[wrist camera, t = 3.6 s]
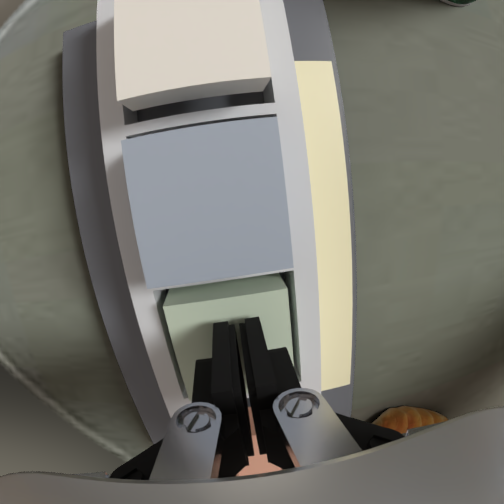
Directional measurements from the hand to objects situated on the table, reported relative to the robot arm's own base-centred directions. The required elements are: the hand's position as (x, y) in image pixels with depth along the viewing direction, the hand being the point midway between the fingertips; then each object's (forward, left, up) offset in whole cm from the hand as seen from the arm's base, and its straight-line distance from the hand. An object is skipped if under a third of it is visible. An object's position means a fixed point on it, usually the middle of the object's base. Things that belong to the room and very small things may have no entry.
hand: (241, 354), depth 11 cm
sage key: (0, 0, -2) cm, 2 cm away
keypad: (0, -3, -5) cm, 5 cm away
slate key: (0, -6, -1) cm, 6 cm away
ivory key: (0, -11, -1) cm, 11 cm away
